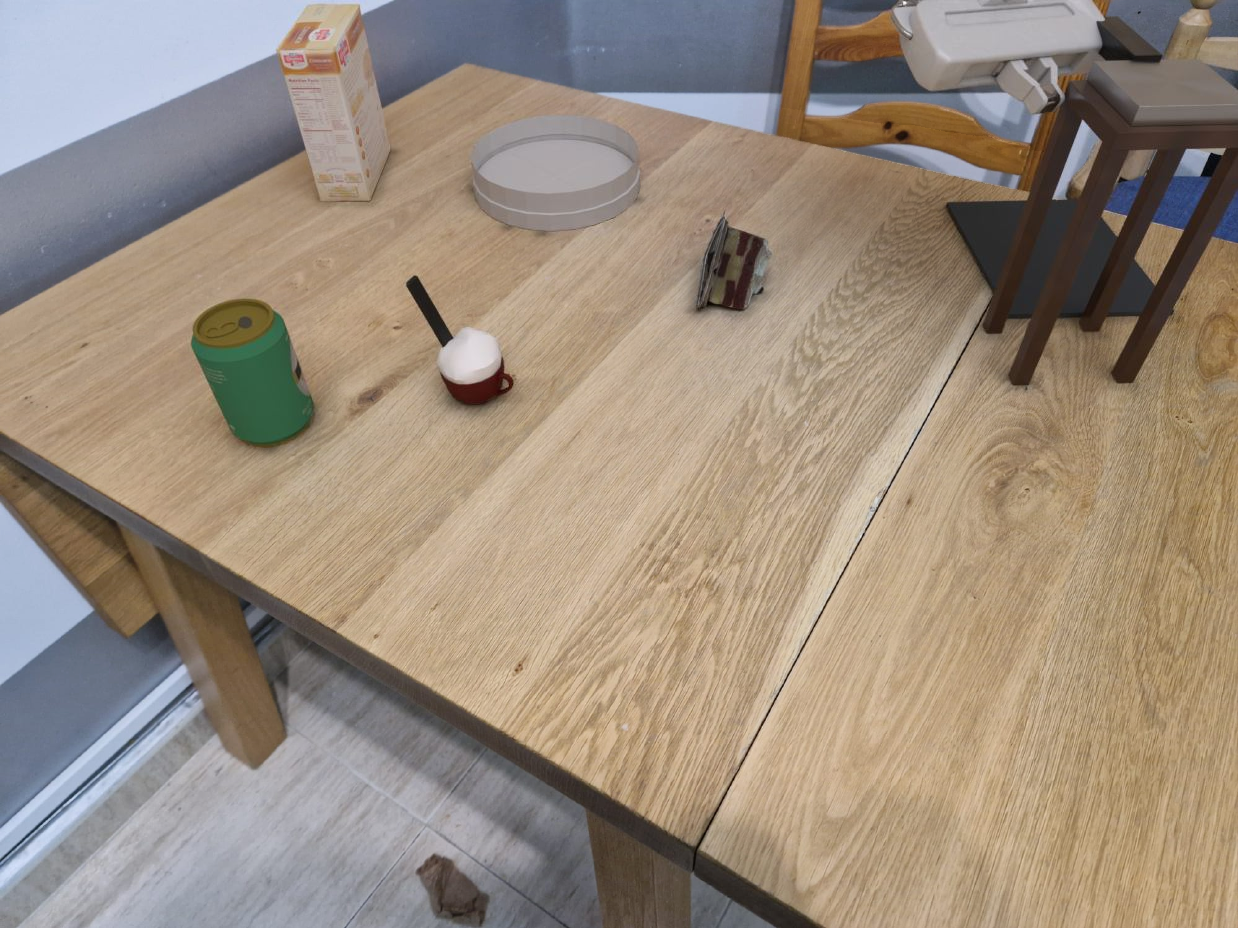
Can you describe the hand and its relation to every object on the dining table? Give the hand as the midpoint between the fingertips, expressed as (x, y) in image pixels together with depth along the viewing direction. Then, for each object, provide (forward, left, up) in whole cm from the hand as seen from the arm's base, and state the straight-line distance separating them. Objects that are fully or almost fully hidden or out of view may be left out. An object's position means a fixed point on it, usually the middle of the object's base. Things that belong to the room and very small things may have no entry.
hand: (1049, 108), depth 75 cm
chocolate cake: (+25, -9, -24) cm, 36 cm away
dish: (+46, -33, -24) cm, 61 cm away
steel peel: (-7, -1, +2) cm, 8 cm away
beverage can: (+72, +12, -24) cm, 77 cm away
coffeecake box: (+73, -38, -24) cm, 86 cm away
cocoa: (+53, +8, -24) cm, 58 cm away
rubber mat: (-13, -14, -24) cm, 31 cm away
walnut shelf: (-7, +4, -24) cm, 25 cm away
